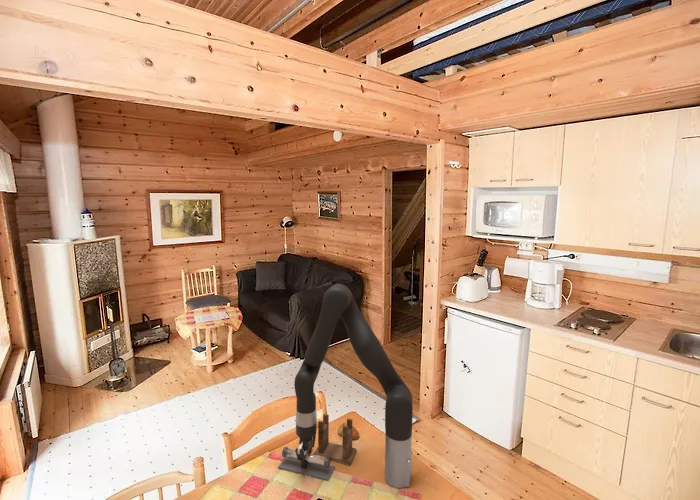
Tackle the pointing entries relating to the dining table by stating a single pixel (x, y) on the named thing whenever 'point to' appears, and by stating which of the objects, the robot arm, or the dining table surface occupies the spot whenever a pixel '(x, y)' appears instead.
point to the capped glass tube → (308, 457)
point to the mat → (307, 469)
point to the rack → (332, 450)
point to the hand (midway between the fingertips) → (306, 464)
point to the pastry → (354, 431)
